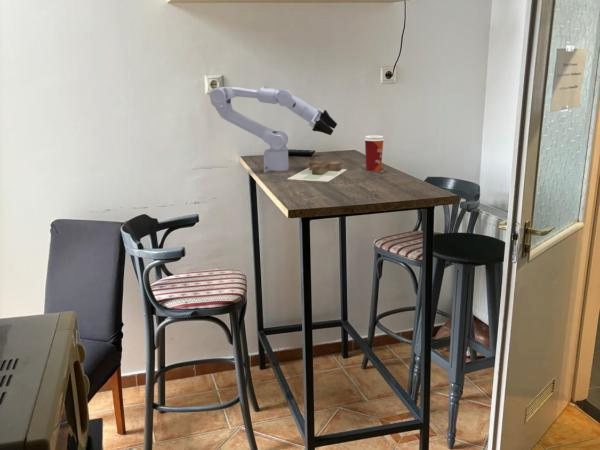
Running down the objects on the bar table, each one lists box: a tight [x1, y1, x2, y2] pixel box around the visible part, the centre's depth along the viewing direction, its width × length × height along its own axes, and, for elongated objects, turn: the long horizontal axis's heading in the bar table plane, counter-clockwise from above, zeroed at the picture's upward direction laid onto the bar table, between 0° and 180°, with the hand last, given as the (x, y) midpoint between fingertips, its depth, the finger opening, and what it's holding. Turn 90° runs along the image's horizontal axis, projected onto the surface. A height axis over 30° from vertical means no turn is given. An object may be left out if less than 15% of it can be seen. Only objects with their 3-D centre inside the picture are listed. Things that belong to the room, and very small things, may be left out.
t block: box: [308, 160, 342, 175], centre depth 230 cm, size 12×12×3 cm
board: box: [287, 167, 348, 185], centre depth 226 cm, size 16×24×1 cm, turn 159°
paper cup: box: [363, 134, 385, 174], centre depth 231 cm, size 8×8×14 cm
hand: (334, 129), depth 229 cm, fingers open, 7 cm apart
